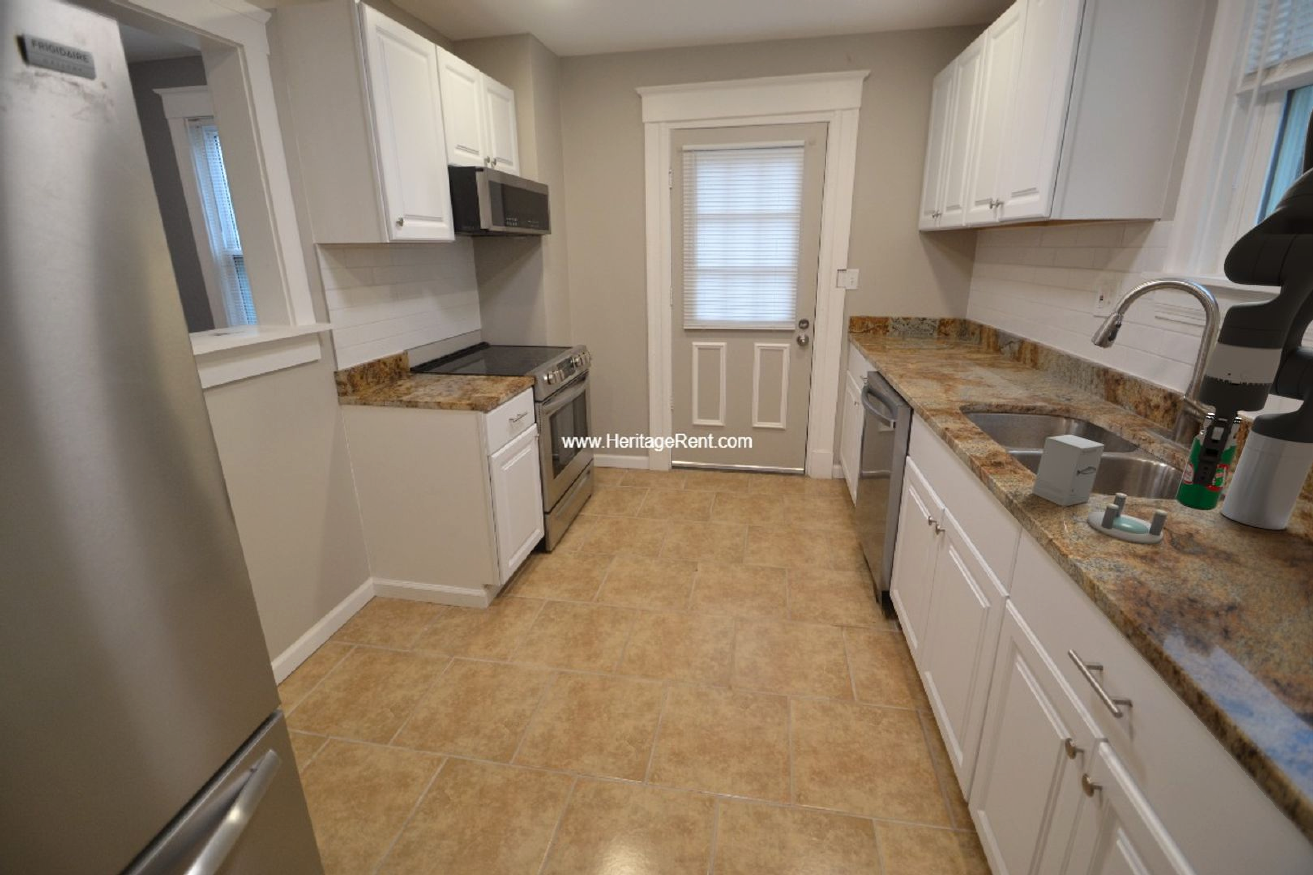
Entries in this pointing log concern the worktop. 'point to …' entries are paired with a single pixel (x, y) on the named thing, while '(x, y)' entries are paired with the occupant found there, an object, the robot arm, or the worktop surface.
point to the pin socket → (1127, 523)
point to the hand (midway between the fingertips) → (1203, 479)
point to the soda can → (1203, 495)
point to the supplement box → (1067, 469)
